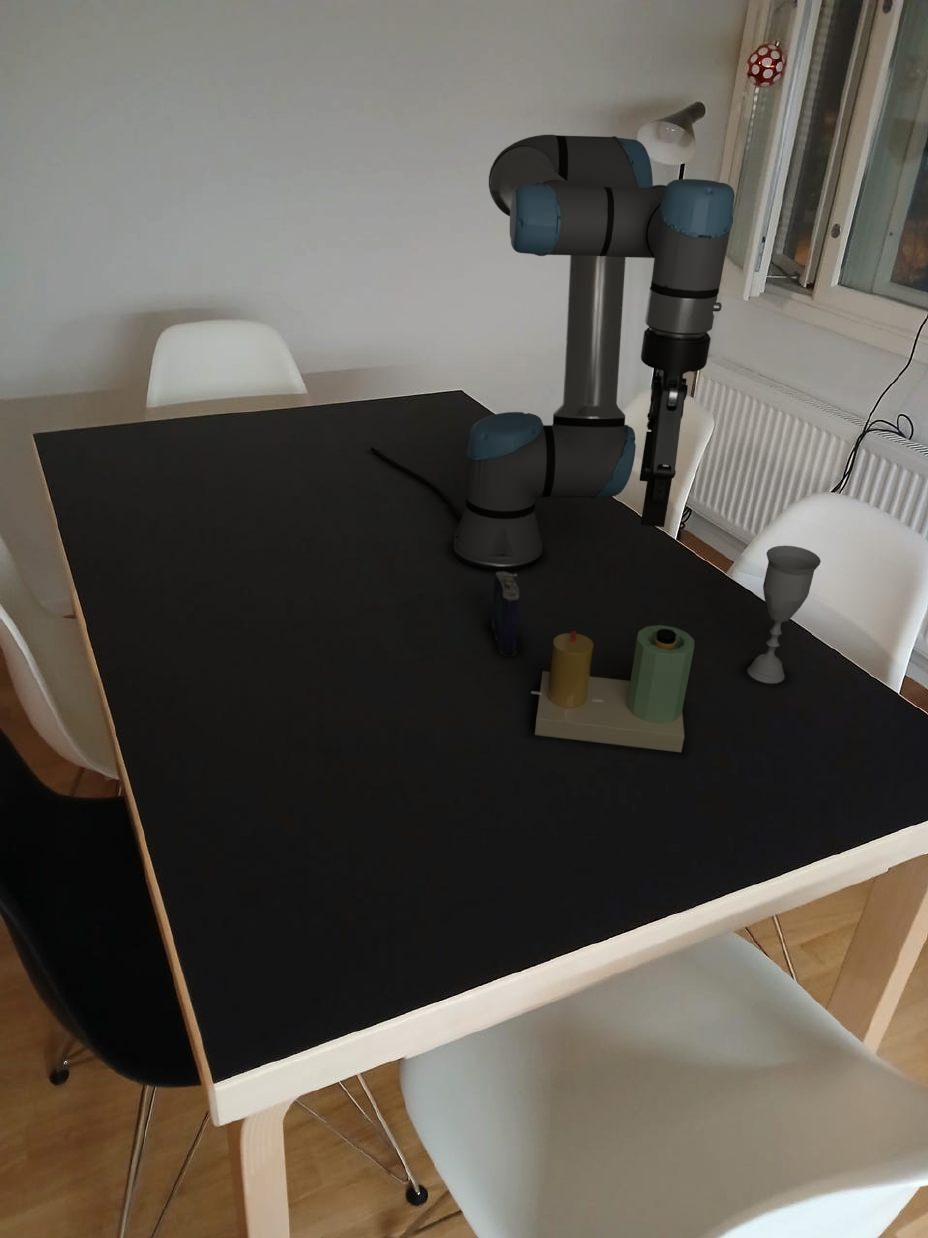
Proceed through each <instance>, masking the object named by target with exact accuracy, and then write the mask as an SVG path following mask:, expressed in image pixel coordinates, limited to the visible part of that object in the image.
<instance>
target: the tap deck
mask: <svg viewBox="0 0 928 1238" xmlns="http://www.w3.org/2000/svg"><path fill="white" fill-rule="evenodd" d="M549 675H550V671H544V670H543V671H542V675H541V682H540V688H539V689H540V690H539V691H536V690H535V691H534V690H531V692H530V694H532V695H538V704H537V711H536V716H535V717H536V719H535V726H534V727H535V728H534V735H535V736H540V737H550V738H557V739H566V740H574V741H582V742H583V741H584V742H592V743H598V744H599V743H600V744H606V745H607V744H609V745H614V746H615V745H616V746H625V747H633V748H640V749H641V748H642V749H650V750H657V751H665V752H666V751H667V752H674V753H675V752H676V753H682V751H683V746H684V741H685V727H684V715H683V713H682V714H681V716H680V717H679V718H677V719H676V720H675V721H673V722H667V723H654V722H648V721H644V720H642V719H640V718H638V717H636V716H634V715H633V714H632V713H631V712H630V710H629V709H628V708H627V701H628V694H629V688H630V681H631V680H626V679H616V678H607V677H599V676H598V677H597V676H590V677H589V685H588V693H587V700H586V702H585V703H584V704H583V705H581V706H579V707H574V708H566V707H561V706H558V705H556V704H554V703H552V702H551V701H550V700H549V698H548V685H549Z"/></svg>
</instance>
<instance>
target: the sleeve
mask: <svg viewBox="0 0 928 1238" xmlns="http://www.w3.org/2000/svg"><path fill="white" fill-rule="evenodd" d="M660 629H669V630H672V631H674V632H675V633H676V647H675V649H671V650H669V649H662V648H658V647H656V646H654V640H655V637H656V635H657V631H658V630H660ZM694 649H695V639H694V638H693V637H692V636H691V635H690V634H689V633H688V632H686V631H685V630H682V629H679V628H678V627H674V626H669V625H668V626H667V625H661V624H657V625H649V626H645V627H643V628H642V629H641V630H639V631H638V632H637V636H636V643H635V650H634V656H633V663H632V669H631V676H630V680H629V681H630V688H629V694H628V701H627V708H628V709H629V710H630V712H631V713H632V714H633V715H634V716H636V717H638V718H640V719H642V720H644V721H648V722H654V723H667V722H673V721H675V720H676V719H677V718H679V717H680V716H681V714H682V715H683V709H684V703H685V697H686V692H687V688H688V683H689V682H688V681H689V676H690V672H691V665H692V661H693V655H694Z"/></svg>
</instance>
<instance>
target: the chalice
mask: <svg viewBox="0 0 928 1238" xmlns="http://www.w3.org/2000/svg"><path fill="white" fill-rule="evenodd" d="M766 558H767V561H768V562H767V566H766V570H765V571H766V572H765V576H764V580H763V584H762V591H763V596H764V597H763V598H764V602H765V606H766V609H767V613H768V617H769V618H770V619H772V620H773V621H774V622H773V623H774V624H773V625H772V628H771V629H769V633H770V638H769V640H767V641H766V645H767V651H766V653H762V654H759V655H758V656H757V657H755V658H754V661H752V662H751V664H750V665H749V666H748V667H747V669H746V670H747V674H748V675H749V676H750V677H751V678H752V679H754V680H755V681H758V682H761V683H763V684H764V683H765V684H778V683H781V682H783V681H784V680H785V678H786V675H785V673H784V668H783V663H782V661H781V659H780V658H779V657H777V656H776V655H775V651H776V649H777V648H778V647H780V642H779V637H780V635H782V630H781V627H782V626H781V625H782V623H785V622H788V621H790V620H791V619H792V617H793V616H795V614H796V613H797V612H798V611H799V610H800V608H801V607H802V606H803V604H804V602H805V601H806V600H807V598H808V597H809V594H810V590H811V585H812V582H813V577H814V574H815V571H816V569H817V568H818V567H819V566H820V565H821V563H822V561H821V558H820V557H819V556H818V555H817V554H816V553H815V552H813V551H811V550H810V549H806V548H803V547H800V546H795V545H777V546H772V547H771V548H769V549H768V550H767V552H766Z"/></svg>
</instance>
